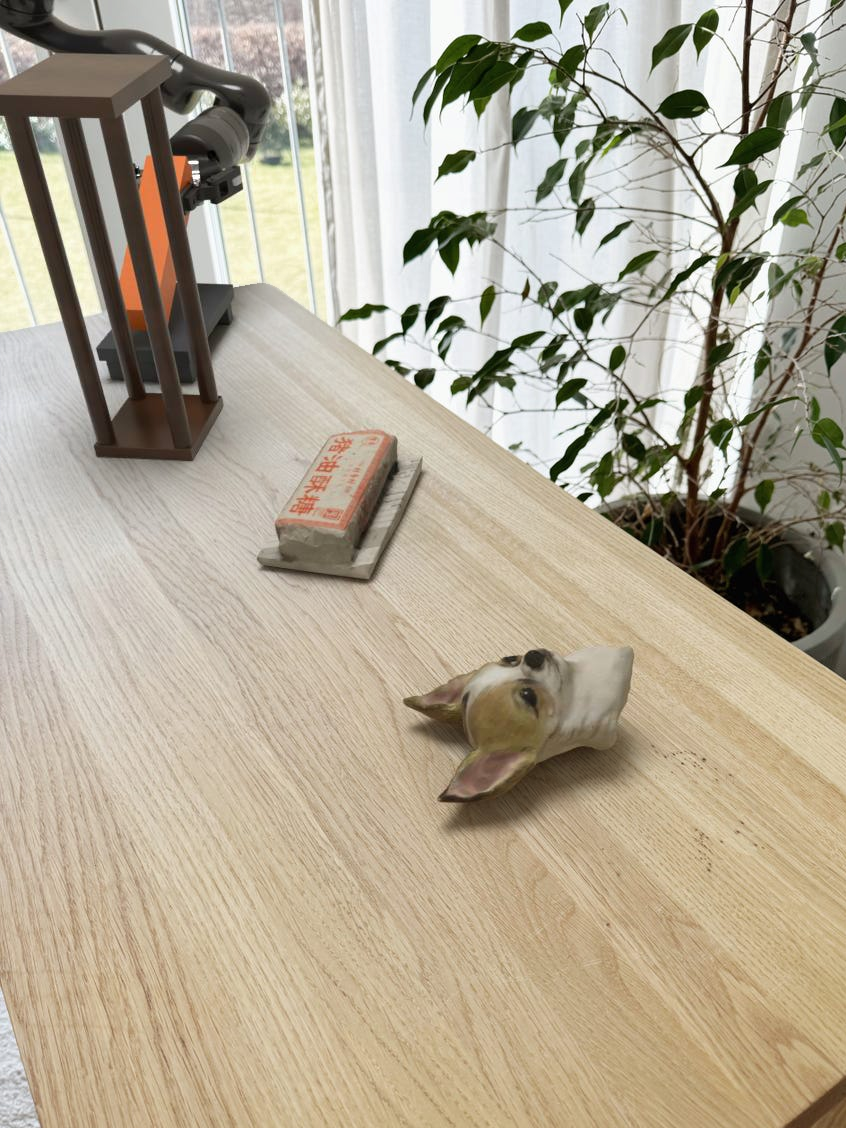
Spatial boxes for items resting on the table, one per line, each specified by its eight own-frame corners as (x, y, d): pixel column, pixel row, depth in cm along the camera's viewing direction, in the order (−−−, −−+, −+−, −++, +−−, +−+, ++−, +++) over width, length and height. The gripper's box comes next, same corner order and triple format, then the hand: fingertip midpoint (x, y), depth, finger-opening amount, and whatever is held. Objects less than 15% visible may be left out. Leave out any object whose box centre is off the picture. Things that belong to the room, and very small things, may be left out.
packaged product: (367, 535, 79) (248, 521, 81) (372, 584, 83) (257, 569, 84) (422, 424, 93) (319, 413, 94) (425, 469, 96) (325, 458, 97)
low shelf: (158, 313, 123) (150, 281, 120) (238, 316, 122) (233, 284, 119) (104, 382, 109) (95, 347, 106) (194, 386, 109) (187, 351, 106)
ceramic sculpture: (669, 683, 61) (431, 746, 58) (660, 776, 67) (444, 837, 64) (603, 580, 69) (390, 632, 66) (600, 672, 74) (405, 722, 72)
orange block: (157, 179, 113) (146, 155, 110) (196, 179, 113) (186, 155, 110) (125, 329, 107) (113, 309, 104) (167, 331, 107) (155, 310, 104)
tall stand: (139, 392, 107) (55, 52, 86) (230, 396, 107) (169, 55, 86) (90, 461, 97) (-19, 94, 76) (191, 466, 96) (110, 97, 75)
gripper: (265, 191, 123) (228, 242, 110) (151, 187, 124) (101, 238, 111) (256, 124, 118) (216, 170, 105) (137, 121, 119) (83, 166, 106)
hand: (157, 205), depth 108 cm, fingers closed on orange block, 4 cm apart
